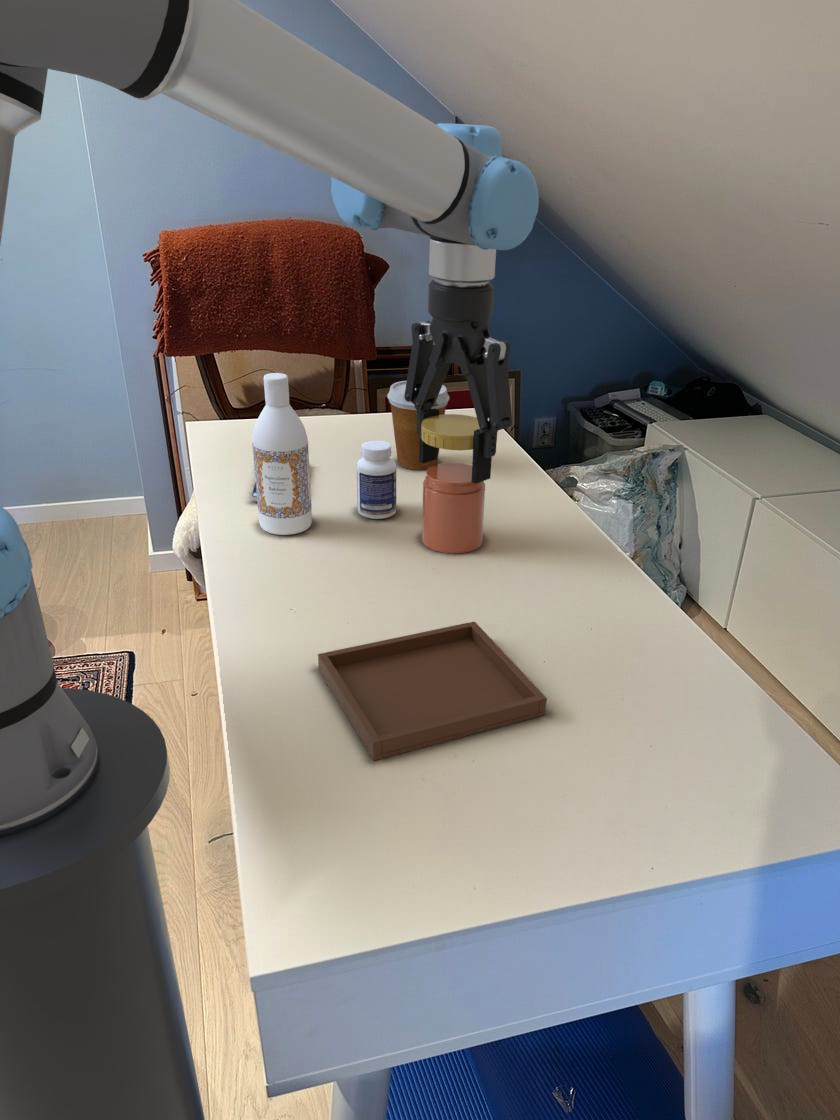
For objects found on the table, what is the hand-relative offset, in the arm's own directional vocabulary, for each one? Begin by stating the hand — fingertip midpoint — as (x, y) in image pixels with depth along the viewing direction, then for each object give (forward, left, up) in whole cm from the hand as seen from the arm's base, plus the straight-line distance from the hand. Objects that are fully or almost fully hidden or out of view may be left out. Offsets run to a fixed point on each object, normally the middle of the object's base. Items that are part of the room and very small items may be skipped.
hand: (454, 469), depth 113 cm
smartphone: (-15, +27, -10) cm, 32 cm away
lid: (0, 0, +5) cm, 5 cm away
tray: (-17, -31, -10) cm, 37 cm away
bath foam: (-19, +12, -10) cm, 25 cm away
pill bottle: (-6, +12, -10) cm, 17 cm away
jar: (0, 0, -10) cm, 10 cm away
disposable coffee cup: (+7, +28, -10) cm, 31 cm away
